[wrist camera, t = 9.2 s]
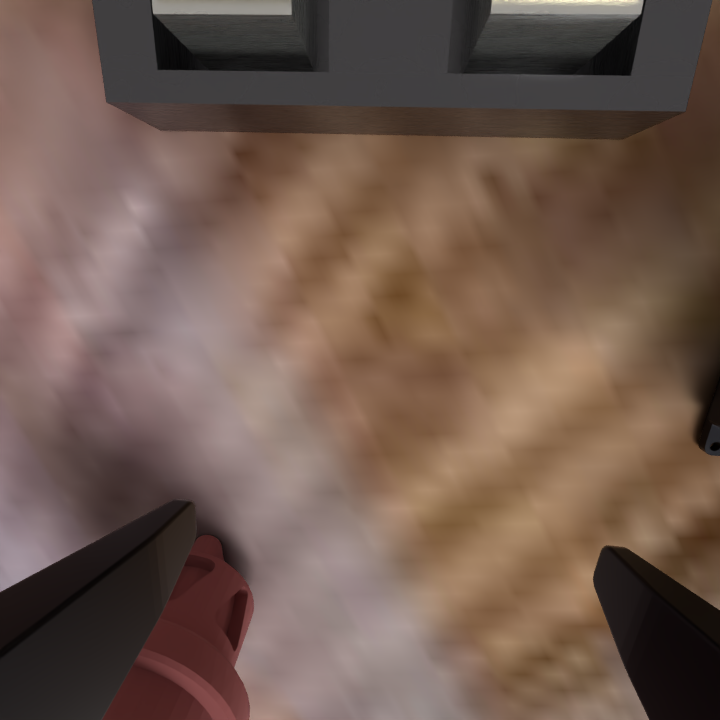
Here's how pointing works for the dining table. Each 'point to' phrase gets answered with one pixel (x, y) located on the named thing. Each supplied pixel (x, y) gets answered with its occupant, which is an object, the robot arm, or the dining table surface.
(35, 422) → the dining table surface
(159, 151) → the dining table surface
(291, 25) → the cream two-tone block
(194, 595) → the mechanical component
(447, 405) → the dining table surface
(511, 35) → the beige block
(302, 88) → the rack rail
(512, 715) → the dining table surface
